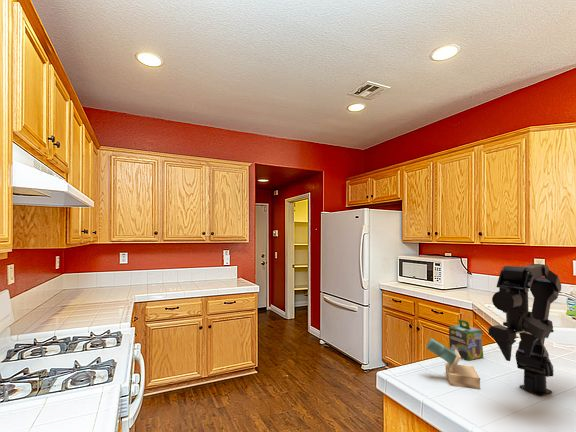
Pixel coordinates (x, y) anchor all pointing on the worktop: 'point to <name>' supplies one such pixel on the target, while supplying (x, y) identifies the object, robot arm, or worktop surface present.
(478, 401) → the worktop surface
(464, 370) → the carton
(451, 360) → the tall teal pillar
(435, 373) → the worktop surface
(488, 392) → the worktop surface
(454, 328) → the chalk box
